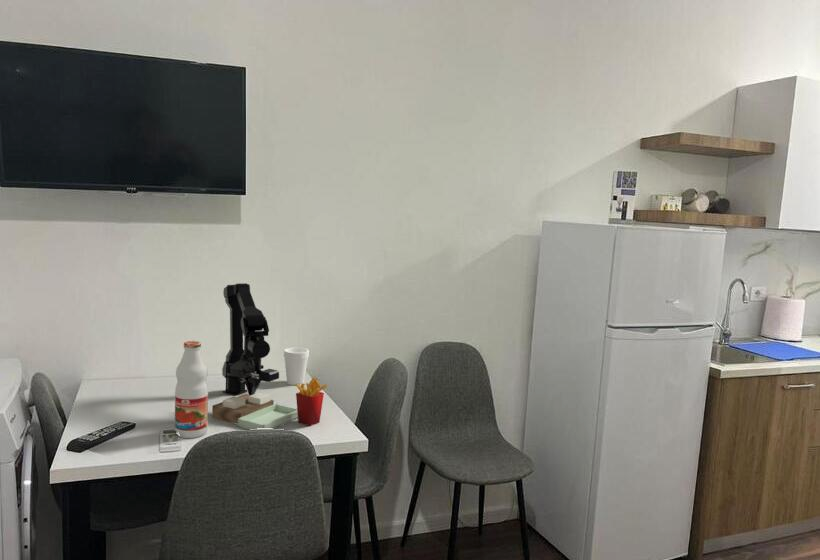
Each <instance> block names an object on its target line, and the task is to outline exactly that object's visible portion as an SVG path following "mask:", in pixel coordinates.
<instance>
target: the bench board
mask: <svg viewBox="0 0 820 560" xmlns="http://www.w3.org/2000/svg"><path fill="white" fill-rule="evenodd" d="M237 397H238V398H242V399H245V405H244V406H242V407H239V408H236V409H232V408H228V407H224V406H223V401H222V402H218V403H216V404H213V405H212V406H211V407H212V409H211V410H212V418H213V419H217V420H221V421H225V422H227V423H231V424H235V423H236V425H238V418H241V417H243V416H246V415H248V414H251V413H253V412H256V411H258V410H261V409H264V408H266V407H269V406H271V405H274V404H275V403H274V402H275V401H274V399H270V401H269V402H266V403H264V404H261V405H259V404H255V403H251V402H248V399H249V393H245V394H240V395H239V396H238V395H237Z"/></svg>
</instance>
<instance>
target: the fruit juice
mask: <svg viewBox="0 0 820 560" xmlns="http://www.w3.org/2000/svg"><path fill="white" fill-rule="evenodd" d="M201 348H202V342H201V341H198V340H190V341H184V343H183V349H184V351H183V354H182V358H181V360H180V361H179V364H178V365H177V367H176V369H175V376H176V381H177V383H176V385H175V390H174V391H175V392H174V432H175V431H178V432H179V434H180V436H181V437H180V438H183V439H195V438H200V437H203V436H205V435H206V434H207V432H208V427H209V425H208V424H209V422H208V419H209V417H208V414H209V413H208V412H209V386H208V385H209V384H208V382H207V378H208V373H209V369H208V366H207V365H206V363H205V361H204V358H203V356H202V354H201V353H202V351H201Z"/></svg>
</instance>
